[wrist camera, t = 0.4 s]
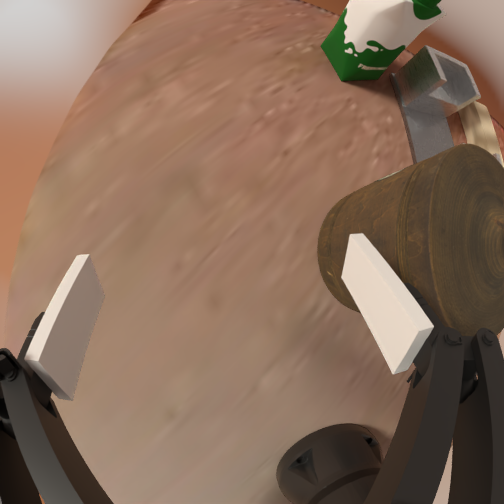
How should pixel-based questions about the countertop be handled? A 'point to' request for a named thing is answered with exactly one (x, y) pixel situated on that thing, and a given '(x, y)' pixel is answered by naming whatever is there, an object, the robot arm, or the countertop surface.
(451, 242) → the wooden container
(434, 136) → the bracket stand
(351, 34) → the milk carton
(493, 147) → the rail
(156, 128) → the countertop surface
